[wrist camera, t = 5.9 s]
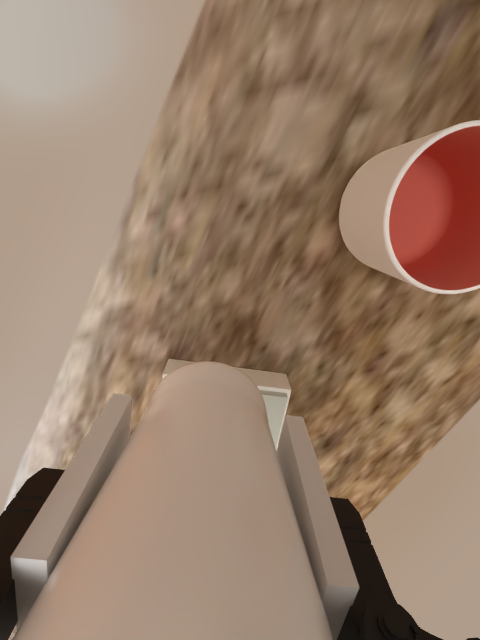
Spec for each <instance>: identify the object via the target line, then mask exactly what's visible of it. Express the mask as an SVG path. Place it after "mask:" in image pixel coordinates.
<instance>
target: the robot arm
mask: <svg viewBox="0 0 480 640" xmlns="http://www.w3.org/2000/svg"><path fill="white" fill-rule="evenodd" d="M131 408H132V396H129V395H121V394H113V395H112V396H111V398H110V399H109V401H108V403H107V404H106V406H105V407H104V409H103V411H102V412H101V414H100V415H99V417H98V418H97V420H96V422H95V423H94V425H93V426H92V428H91V430H90V431H89V433H88V434H87V436H86V438H85V439H84V441H83V442H82V444H81V446H80V447H79V449H78V450H77V452H76V454H75V455H74V457H73V458H72V460H71V461H70V463H69V465H68V466H67V468H66V469H65V470H60V469H51V468H42V469H41V470H40V471H38V472H37V473H36V474H34V475H33V476H32V477H30V478H29V479H28V480H27V481H26V482H25V483H24V485H23V486H22V487H21V489H20V490H19V491H18V493H17V494H16V497H15V498H13V500H12V501H11V502H10V504H9V505H8V506H7V508H6V511H4V512H3V513H2V514H1V516H0V640H8V638H9V637H10V635H11V633H12V631H13V629H14V627H15V625H16V626H17V631H18V629H19V627H20V626H21V624H22V622H23V620H24V619H25V617H26V615H27V614H28V612H29V610H30V608H31V607H32V605H33V603H34V602H35V600H36V598H37V597H38V595H39V593H40V591H41V590H42V588H43V586H44V585H45V583H46V581H47V579H48V578H49V576H50V574H51V573H52V571H53V569H54V567H55V566H56V564H57V562H58V561H59V559H60V557H61V556H62V554H63V552H64V550H65V549H66V547H67V545H68V544H69V542H70V540H71V538H72V537H73V535H74V533H75V532H76V530H77V528H78V527H79V525H80V523H81V521H82V520H83V518H84V516H85V515H86V513H87V511H88V509H89V508H90V506H91V504H92V503H93V501H94V499H95V497H96V496H97V494H98V492H99V491H100V489H101V487H102V485H103V484H104V482H105V480H106V479H107V477H108V475H109V473H110V472H111V470H112V468H113V466H114V465H115V463H116V461H117V460H118V458H119V456H120V454H121V453H122V451H123V449H124V447H125V446H126V444H127V442H128V440H129V439H130V424H131ZM277 455H278V458H279V461H280V465H281V468H282V471H283V475H284V478H285V481H286V485H287V488H288V491H289V495H290V498H291V501H292V505H293V508H294V511H295V514H296V518H297V521H298V524H299V528H300V531H301V534H302V537H303V541H304V544H305V547H306V550H307V554H308V557H309V560H310V563H311V567H312V570H313V573H314V576H315V580H316V583H317V586H318V589H319V593H320V596H321V599H322V603H323V606H324V609H325V612H326V616H327V619H328V622H329V625H330V629H331V632H332V635H333V638H334V640H443V639H440V638H438V637H436V636H434V635H432V634H430V633H428V632H426V631H424V630H422V629H420V627H418V625H417V624H416V622H415V621H414V619H413V618H412V616H411V615H410V614H409V613H408V612H407V611H406V610H405V609H404V608H403V607H402V606H401V605H399V604H397V602H396V600H395V598H394V596H393V594H392V591H391V589H390V587H389V584H388V582H387V579H386V577H385V574H384V572H383V569H382V567H381V565H380V562H379V560H378V557H377V555H376V552H375V550H374V548H373V545H371V540H370V538H369V536H368V533H367V532H366V528H365V526H364V523H363V521H362V518H361V516H360V514H359V512H358V511H357V510H356V508H355V507H354V506H353V505H352V504H351V502H350V501H349V500H348V499H342V498H333V497H329V494H328V491H327V488H326V485H325V482H324V479H323V476H322V473H321V470H320V467H319V464H318V461H317V458H316V455H315V452H314V449H313V446H312V443H311V440H310V437H309V434H308V431H307V428H306V425H305V422H304V419H303V417H298V416H290V415H285V418H284V422H283V426H282V430H281V434H280V439H279V443H278V447H277ZM467 640H480V639H479V638H468V639H467Z"/></svg>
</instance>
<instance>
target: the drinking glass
mask: <svg viewBox="0 0 480 640" xmlns="http://www.w3.org/2000/svg"><path fill="white" fill-rule="evenodd" d="M12 640H334V638H333V635H332V632H331V629H330V625H329V622H328V619H327V616H326V612H325V609H324V606H323V603H322V599H321V596H320V593H319V589H318V586H317V583H316V580H315V576H314V573H313V570H312V567H311V563H310V560H309V557H308V554H307V550H306V547H305V544H304V541H303V537H302V534H301V531H300V528H299V524H298V521H297V518H296V514H295V511H294V508H293V505H292V501H291V498H290V495H289V491H288V488H287V485H286V481H285V478H284V475H283V471H282V468H281V465H280V461H279V458H278V455H277V451H276V448H275V444H274V441H273V438H272V434H271V431H270V427H269V422H268V416H267V410H266V406H265V402H264V399H263V396H262V394H261V392H260V390H259V388H258V387H257V386H256V384H255V383H254V382H253V381H252V380H251V379H250V378H249V377H248V376H247V375H246V374H245V373H243V372H242V371H240V370H238V369H237V368H235V367H232V366H230V365H227V364H224V363H220V362H213V361H201V362H194V363H190V364H187V365H184V366H181V367H179V368H177V369H175V370H174V371H172V372H171V373H169V374H168V375H167V376H166V377H164V378H163V379H162V380H161V382H160V383H159V384H158V385H157V387H156V388H155V390H154V391H153V393H152V395H151V397H150V400H149V402H148V404H147V407H146V409H145V411H144V414H143V416H142V417H141V419H140V421H139V423H138V425H137V426H136V428H135V430H134V432H133V433H132V435H131V437H130V439H129V440H128V442H127V444H126V446H125V447H124V449H123V451H122V453H121V454H120V456H119V458H118V460H117V461H116V463H115V465H114V466H113V468H112V470H111V472H110V473H109V475H108V477H107V479H106V480H105V482H104V484H103V485H102V487H101V489H100V491H99V492H98V494H97V496H96V497H95V499H94V501H93V503H92V504H91V506H90V508H89V509H88V511H87V513H86V515H85V516H84V518H83V520H82V521H81V523H80V525H79V527H78V528H77V530H76V532H75V533H74V535H73V537H72V538H71V540H70V542H69V544H68V545H67V547H66V549H65V550H64V552H63V554H62V556H61V557H60V559H59V561H58V562H57V564H56V566H55V567H54V569H53V571H52V573H51V574H50V576H49V578H48V579H47V581H46V583H45V585H44V586H43V588H42V590H41V591H40V593H39V595H38V597H37V598H36V600H35V602H34V603H33V605H32V607H31V608H30V610H29V612H28V614H27V615H26V617H25V619H24V620H23V622H22V624H21V626H20V627H19V629H18V631H17V632H16V634H15V636H14V638H13V639H12Z"/></svg>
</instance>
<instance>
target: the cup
mask: <svg viewBox="0 0 480 640" xmlns="http://www.w3.org/2000/svg"><path fill="white" fill-rule="evenodd" d="M339 226H340V232H341V235H342V238H343V241H344V243H345V245H346V247H347V248H348V250H349V251H350V252H351V254H352V255H353V256H354V257H355V258H356V259H358V260H359V261H360V262H362V263H363V264H365V265H367V266H369V267H371V268H373V269H376V270H378V271H380V272H383V273H385V274H387V275H390V276H392V277H395V278H397V279H399V280H401V281H404V282H406V283H408V284H411V285H413V286H415V287H418V288H420V289H423V290H425V291H429V292H432V293H438V294H458V293H464V292H469V291H472V290H476V289H478V288H480V120H475V121H468V122H464V123H460V124H457V125H454V126H451V127H449V128H446V129H443V130H440V131H437V132H435V133H432V134H429V135H426V136H424V137H421V138H418V139H415V140H413V141H410V142H407V143H404V144H401V145H399V146H396V147H393V148H390V149H388V150H385V151H383V152H381V153H379V154H377V155H375V156H374V157H372V158H371V159H369V160H368V161H367V162H365V163H364V164H363V165H362V166H361V167H360V168H359V169H358V170H357V171H356V173H355V174H354V175H353V177H352V178H351V180H350V181H349V183H348V185H347V186H346V189H345V191H344V193H343V196H342V199H341V204H340V209H339Z"/></svg>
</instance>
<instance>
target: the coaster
mask: <svg viewBox="0 0 480 640" xmlns="http://www.w3.org/2000/svg"><path fill="white" fill-rule="evenodd" d="M190 363H194V362H192V361H184V360H176V359H168V362H167V364H166V367H165V369H164V372H163V376H162V379H163V378H164V377H166V376H167V375H168V374H169V373H171V372H172V371H174V370H175V369H177V368H179V367H181V366H184V365H187V364H190ZM235 368H237V369H238V370H240V371H242V372H243V373H245V374H246V375H247V376H248V377H249V378H250V379H251V380H252V381H253V382H254V383H255V384H256V386H257V387H258V388H259V390H260V392H261V394H262V396H263V399H264V402H265V406H266V410H267V416H268V422H269V427H270V431H271V434H272V438H273V441H274V444H275V448H276V451H277V447H278V443H279V439H280V434H281V430H282V426H283V422H284V418H285V415H286V411H287V406H288V402H289V398H290V394H291V387H290V384H289V381H288V378H287V375H286V374H284V373H277V372H269V371H261V370H253V369H246V368H238V367H235Z"/></svg>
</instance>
